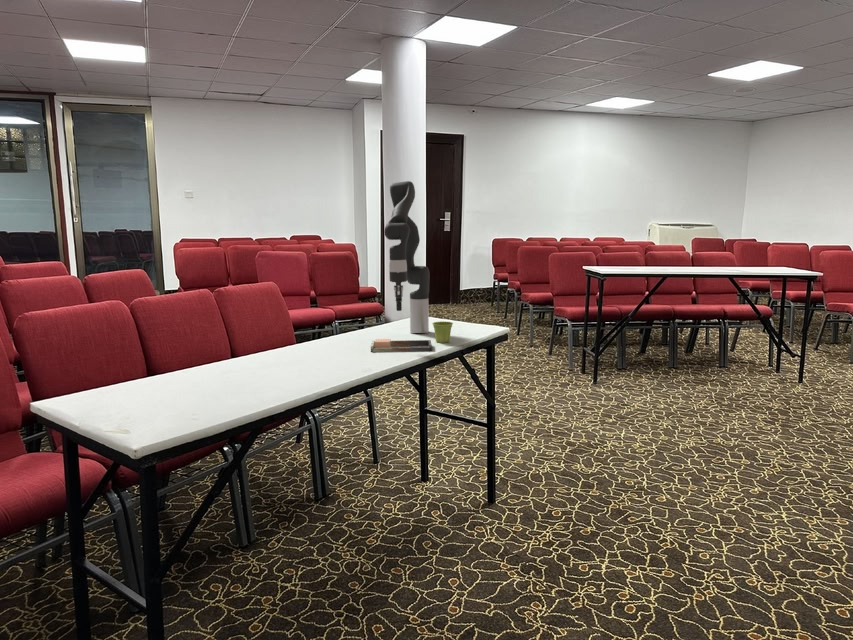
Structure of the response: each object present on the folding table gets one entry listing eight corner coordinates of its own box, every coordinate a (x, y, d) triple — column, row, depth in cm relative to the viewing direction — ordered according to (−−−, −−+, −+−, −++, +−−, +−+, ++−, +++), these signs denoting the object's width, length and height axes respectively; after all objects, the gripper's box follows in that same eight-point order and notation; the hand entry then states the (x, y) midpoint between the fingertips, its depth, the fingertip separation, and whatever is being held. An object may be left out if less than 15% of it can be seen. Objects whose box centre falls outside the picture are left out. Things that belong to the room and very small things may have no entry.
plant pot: (453, 343, 264) (453, 324, 263) (432, 343, 264) (432, 324, 263) (452, 339, 274) (452, 321, 272) (432, 339, 274) (432, 321, 272)
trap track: (372, 346, 260) (372, 340, 259) (430, 345, 261) (430, 340, 260) (370, 352, 248) (370, 346, 248) (431, 351, 249) (431, 345, 249)
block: (376, 348, 258) (376, 339, 257) (390, 347, 257) (390, 339, 257) (374, 351, 251) (374, 341, 251) (389, 351, 251) (389, 341, 250)
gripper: (389, 269, 255) (390, 308, 258) (389, 272, 242) (390, 313, 245) (406, 268, 255) (407, 308, 258) (407, 271, 242) (408, 312, 245)
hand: (399, 310), depth 252 cm, fingers closed
